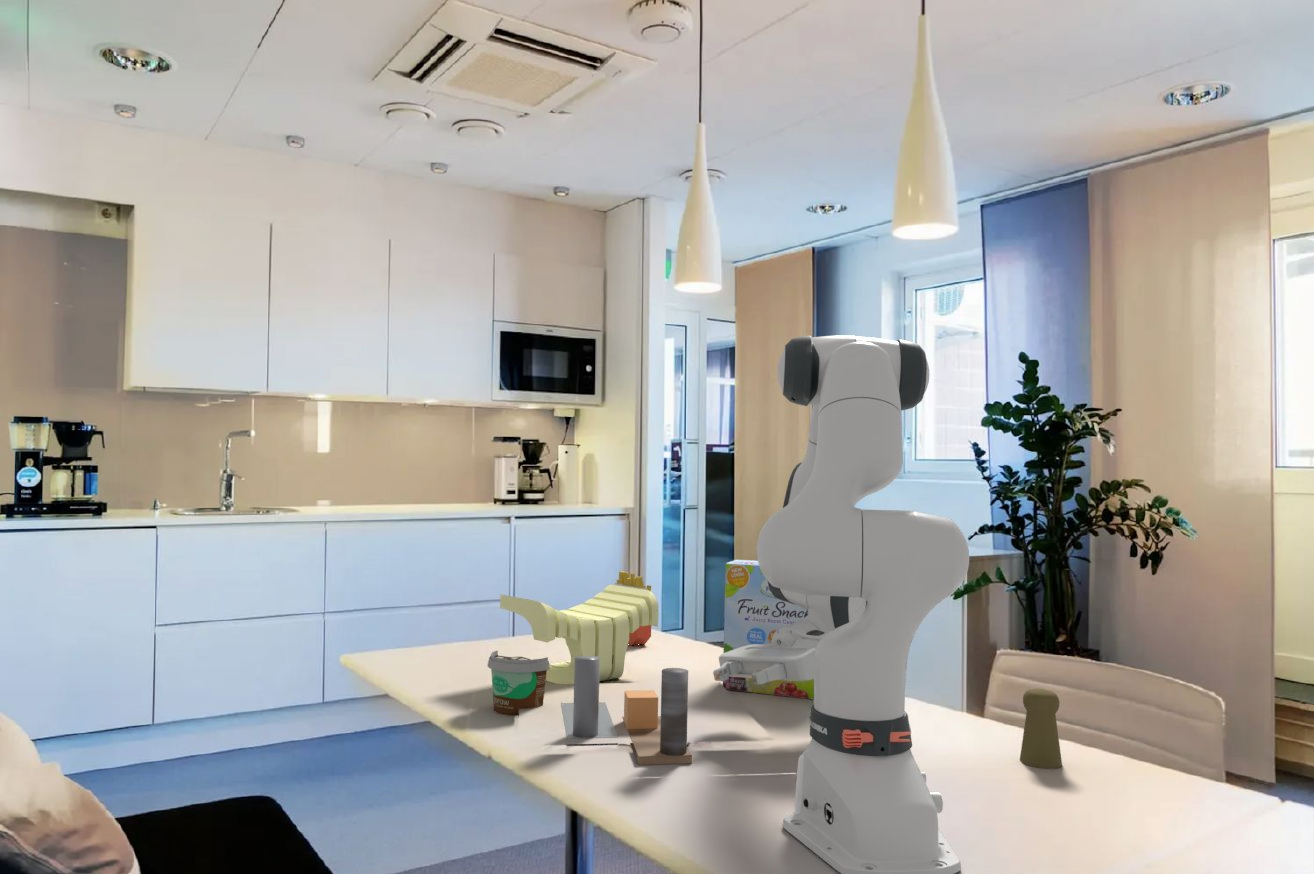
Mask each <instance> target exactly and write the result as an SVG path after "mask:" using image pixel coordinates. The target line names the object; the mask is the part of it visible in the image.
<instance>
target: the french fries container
mask: <svg viewBox="0 0 1314 874" xmlns="http://www.w3.org/2000/svg"><path fill="white" fill-rule="evenodd" d="M635 575H636V573H634V572H633V573H631V572H630V573H629V572H627V571H624V570H623V571H622V570H621V571H620V570H619V571H618V579H616V582H615V583H614V585H617V586H624V587H630V588H637V589H644V590H649V591H651V592H652V585H644V580H643V576H636V577H635ZM629 576H630V577H629ZM651 637H652V626H651V625H648V626H639V628H638V629H636V630H635V631H634V632H633V633H629V642H628V644H629V645H628V646H630V645H636V646H639V645H638V644H645V645H646V644H647V643H648V641H649V640H650V638H651Z"/></svg>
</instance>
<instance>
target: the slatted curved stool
mask: <svg viewBox="0 0 1314 874" xmlns="http://www.w3.org/2000/svg"><path fill="white" fill-rule="evenodd" d="M499 595H500V598H499V599H500V601H499V608H500V609H503V610H506V611H509V612H512V613H516V614H517V615H520V616H522V617H523V618H524V619H525V620H526V621H527V622H528V624H529V626H530V628H531V630H532V636H533V640H535V641H540V642H543V643H550V642H551V641H552V642H553V641H554V640H556V638H559V639H561V638H562V639H565V643H566V646H567V648H568V651H569V654H570V660H567V661H565V662H564V661H563V662H562V661H561V662H556V663H549V665H550V669H549V670H547V673H546V680H547V681H546V682H550V683H554V684H556V685H574V669H575V657H577V656H597V657H599V658H600V673H599V682H603V681H609V680H610V681H611V680H614V679H615V680H616V679H619V678H622V676H623V674H624V670H625V659H626V653H627V650H628V646H629V645H628V642H629V633H633V632H634V631H635V630H636V629H638V628H639V626H648V625H651V627H652V626H653V627H657V628H658V627H659V602H658V599H657V597H656V595H655V594H654V593H653V592H652V590H651V591H649V590H644V589H637V588H630V587H624V586H617V585H615V584H608V585H607V586H606V587H605V588H603V590H602V591H600V592H598V593H597V594H596V595H595V594H594V596H593V598H589V599H587V600H585V601H584V602H583V603H580V604H577V605H575V606H572V607H569V608H567V609H560V610H558V609H555V608H554V607H553V606H550V605H548V604H547V603H545V602H544V603H543V602H541V601H539V600H532V599H528V598H522V597H516V596H512V595H506V594H502V593H501V594H499Z"/></svg>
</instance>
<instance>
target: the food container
mask: <svg viewBox="0 0 1314 874" xmlns="http://www.w3.org/2000/svg"><path fill="white" fill-rule="evenodd" d="M498 652H499V651H498V650H494V651H492V652H490V656H489V658H488V661H487V668H489V669H491V670H490V671H491V685H492V700H493V701H492V702H493V712H495V713H496V714H499V715H505V716H510V717H511V716H512V717H513V716H517V717H519V716H520V710H524V709H525V710H526V709H535V708H539V707H541V706H543V705H544V700H545V699H544V698H545V688H546V682H547V681H546V673H547V670H549V669H550V665H549V664H550V661H549V657H541V658H534V659H531V658H528V657H524V656H504V655H499V654H498Z"/></svg>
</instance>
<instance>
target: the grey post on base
mask: <svg viewBox="0 0 1314 874" xmlns="http://www.w3.org/2000/svg"><path fill="white" fill-rule="evenodd" d="M599 673H600V658H599V657H597V656H577V657H575V669H574V684H573V702H561V703H560V704H561V711H562V717H563V723H564V729H565V735H566V739H569V740H570V739H607V738H613V739H614V738H615V739H616V738H617V739H618V738H619V736H618V733H617V731H616V728H615V725H614V723H613V719H612V717H611V714H610V712H609V708H608V705H607V704H606V701H605V702H603V701H602V702H600V681H599ZM618 745H619V744H618V742H614V743H612V742H610V743H609V742H608V743H569V744H567V743H566V747H577V746H578V747H581V746H582V747H584V746H589V747H590V746H618Z"/></svg>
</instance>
